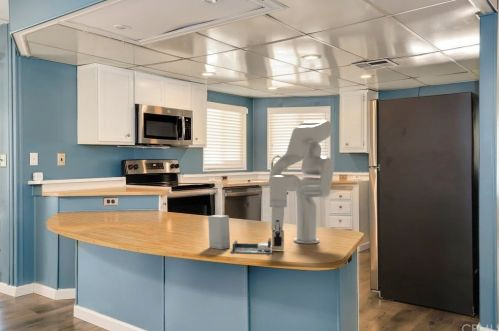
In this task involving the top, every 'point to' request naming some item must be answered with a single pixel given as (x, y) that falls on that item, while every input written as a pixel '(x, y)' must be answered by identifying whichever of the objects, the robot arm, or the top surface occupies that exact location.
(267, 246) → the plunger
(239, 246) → the gauge base
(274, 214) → the robot arm
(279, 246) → the beech block
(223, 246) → the skincare box
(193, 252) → the top surface
